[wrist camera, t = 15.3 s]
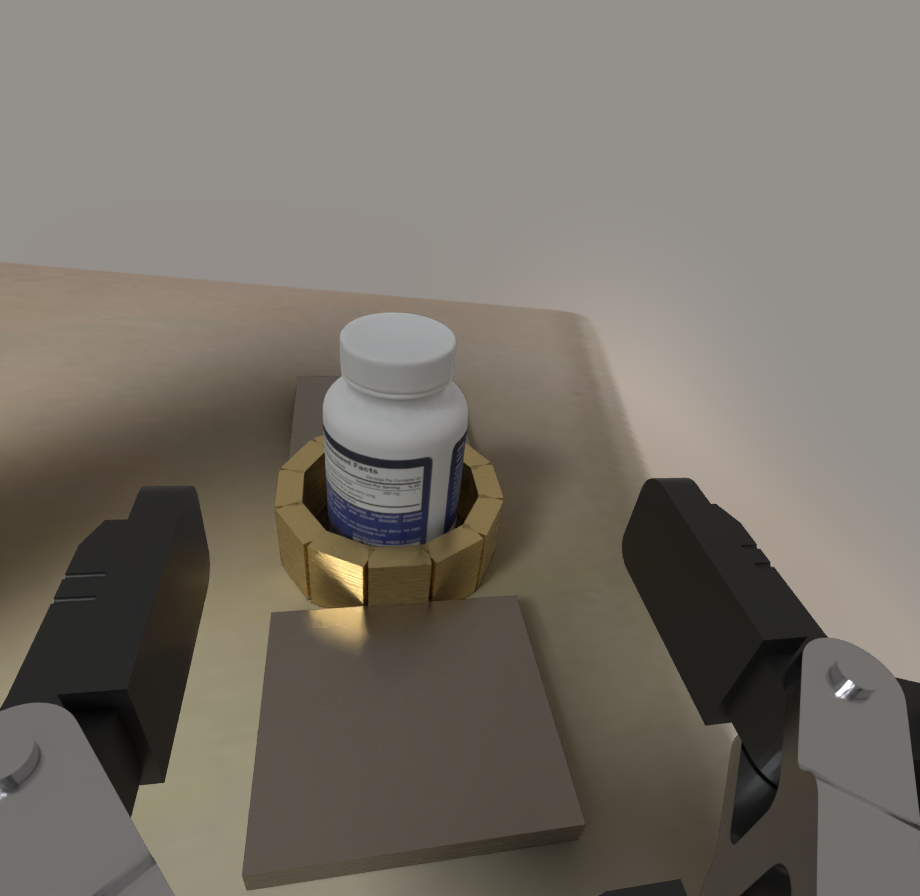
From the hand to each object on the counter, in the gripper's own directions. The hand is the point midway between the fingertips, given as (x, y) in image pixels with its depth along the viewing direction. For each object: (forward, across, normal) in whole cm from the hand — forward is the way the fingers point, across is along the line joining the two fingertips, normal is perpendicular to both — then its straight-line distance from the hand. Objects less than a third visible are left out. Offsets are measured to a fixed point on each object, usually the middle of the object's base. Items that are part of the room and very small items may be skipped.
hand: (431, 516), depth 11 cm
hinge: (+11, 0, +11) cm, 16 cm away
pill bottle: (+10, 0, +12) cm, 16 cm away
